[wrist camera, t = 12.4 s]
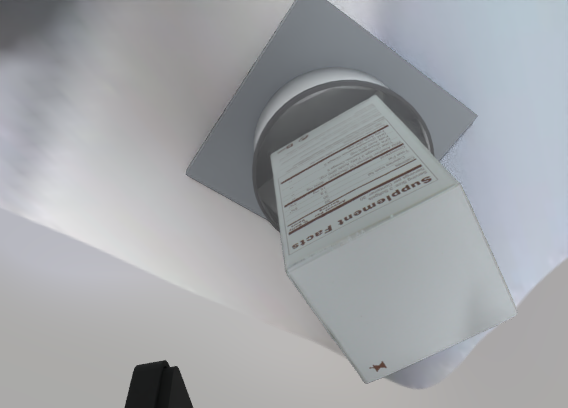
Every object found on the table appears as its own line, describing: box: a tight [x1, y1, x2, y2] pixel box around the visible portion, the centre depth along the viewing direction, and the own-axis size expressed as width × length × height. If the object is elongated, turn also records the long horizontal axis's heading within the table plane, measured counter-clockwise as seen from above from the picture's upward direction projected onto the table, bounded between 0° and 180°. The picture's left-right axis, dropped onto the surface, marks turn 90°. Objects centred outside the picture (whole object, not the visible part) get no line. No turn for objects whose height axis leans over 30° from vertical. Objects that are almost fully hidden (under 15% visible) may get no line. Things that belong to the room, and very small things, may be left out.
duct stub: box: [186, 0, 478, 232], centre depth 33 cm, size 15×15×6 cm
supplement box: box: [270, 95, 517, 384], centre depth 25 cm, size 7×7×13 cm
